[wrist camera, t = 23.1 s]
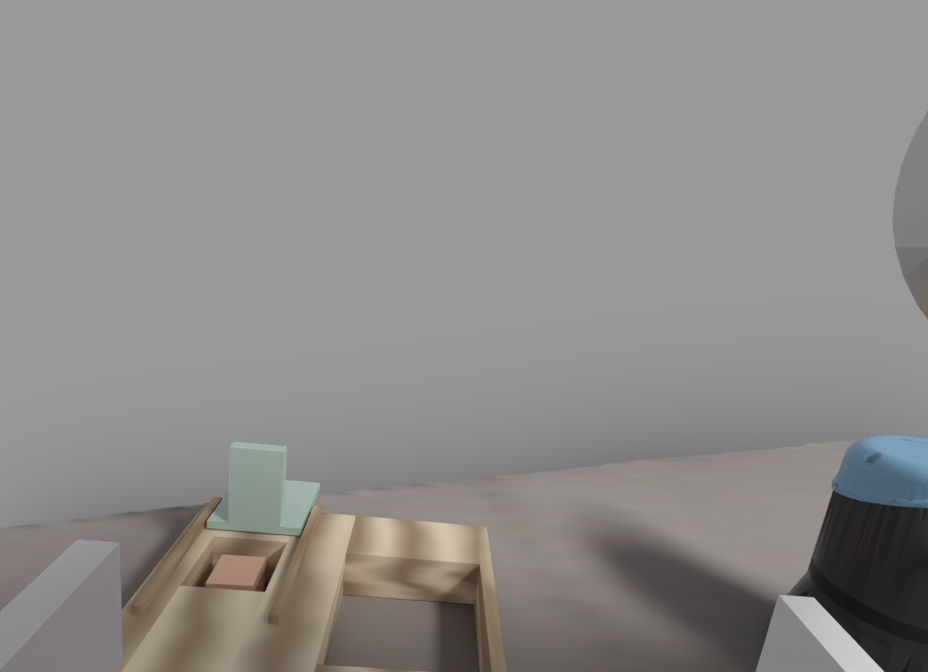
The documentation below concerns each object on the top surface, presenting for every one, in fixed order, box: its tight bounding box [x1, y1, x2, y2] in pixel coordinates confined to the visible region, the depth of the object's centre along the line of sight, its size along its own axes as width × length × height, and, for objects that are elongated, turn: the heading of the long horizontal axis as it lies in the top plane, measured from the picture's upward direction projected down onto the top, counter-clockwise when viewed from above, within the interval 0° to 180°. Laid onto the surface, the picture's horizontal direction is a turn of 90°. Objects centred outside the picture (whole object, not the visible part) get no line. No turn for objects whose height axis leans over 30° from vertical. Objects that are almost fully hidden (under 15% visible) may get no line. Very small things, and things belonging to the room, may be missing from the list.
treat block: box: [205, 555, 266, 592], centre depth 50 cm, size 4×4×4 cm
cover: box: [207, 442, 320, 536], centre depth 57 cm, size 9×9×9 cm
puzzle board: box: [117, 497, 507, 672], centre depth 47 cm, size 30×24×5 cm
